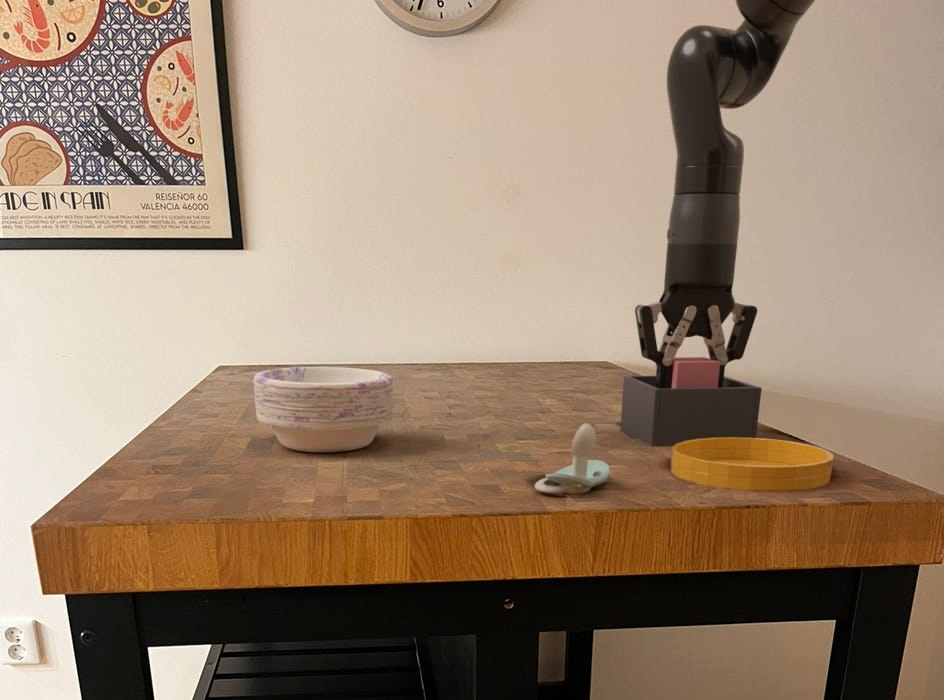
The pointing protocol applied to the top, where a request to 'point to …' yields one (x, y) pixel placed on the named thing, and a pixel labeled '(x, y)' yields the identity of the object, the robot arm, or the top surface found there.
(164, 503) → the top surface
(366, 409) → the paper bowls
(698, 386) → the toy cube
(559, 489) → the pacifier
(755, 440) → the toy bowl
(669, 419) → the grey bin
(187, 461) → the top surface
